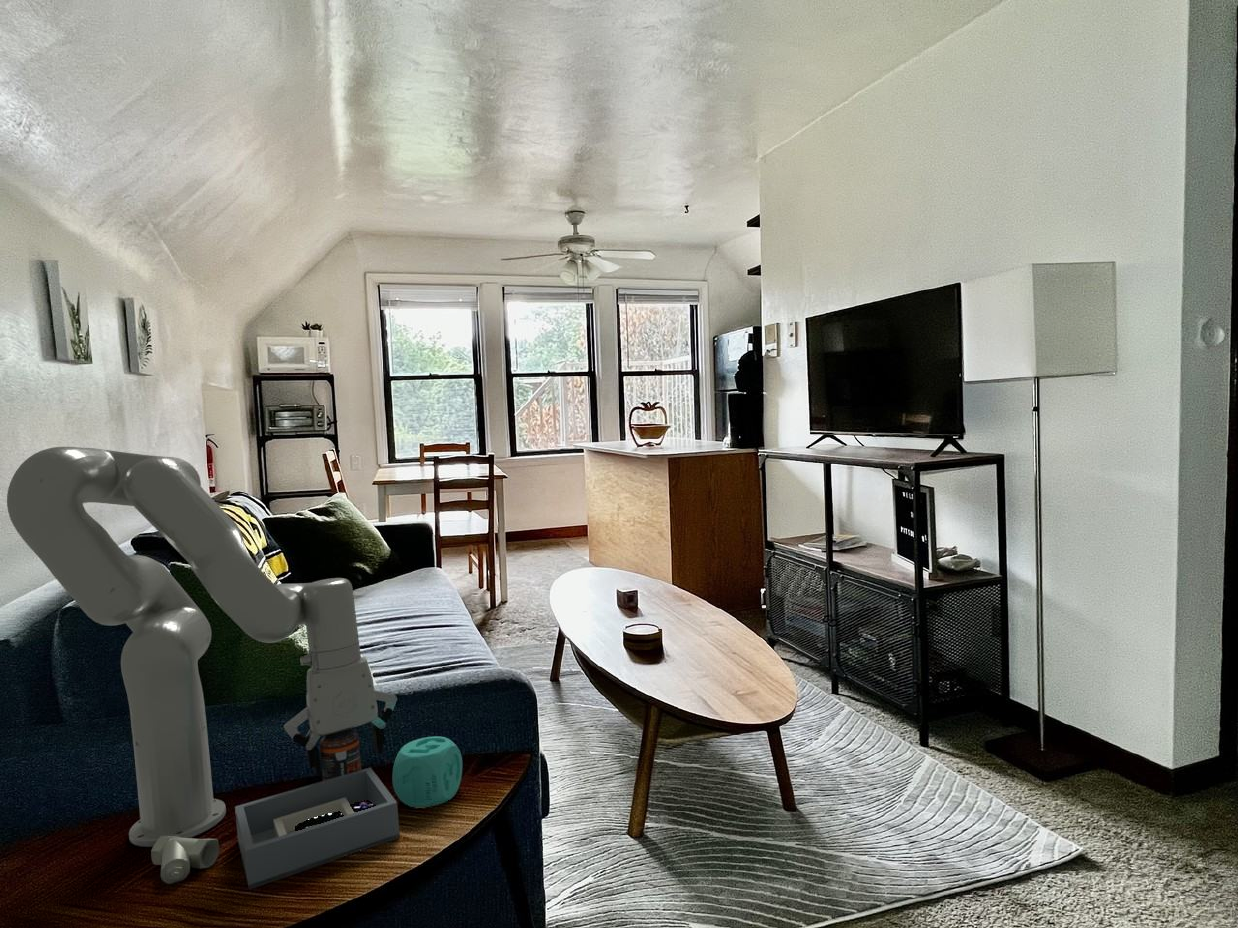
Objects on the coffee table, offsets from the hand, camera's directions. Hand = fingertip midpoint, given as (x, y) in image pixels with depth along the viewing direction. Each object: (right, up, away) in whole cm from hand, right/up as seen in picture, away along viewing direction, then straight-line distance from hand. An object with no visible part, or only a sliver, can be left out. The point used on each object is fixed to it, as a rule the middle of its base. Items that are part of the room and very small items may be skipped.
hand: (348, 760), depth 119 cm
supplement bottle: (-1, -5, 0) cm, 5 cm away
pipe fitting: (-16, -7, -20) cm, 26 cm away
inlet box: (+1, -5, -15) cm, 16 cm away
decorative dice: (+14, -4, -4) cm, 15 cm away
